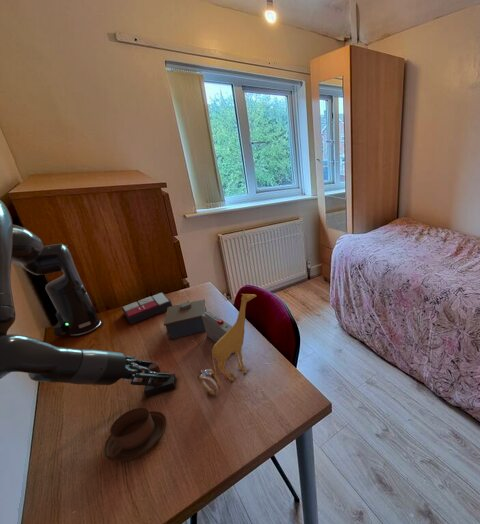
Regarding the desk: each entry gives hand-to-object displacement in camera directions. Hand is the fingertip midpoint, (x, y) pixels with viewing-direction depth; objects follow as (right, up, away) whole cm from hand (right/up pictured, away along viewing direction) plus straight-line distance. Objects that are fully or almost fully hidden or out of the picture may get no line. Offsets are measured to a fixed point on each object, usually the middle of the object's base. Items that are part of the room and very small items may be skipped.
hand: (160, 371), depth 80 cm
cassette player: (+9, +3, +19) cm, 21 cm away
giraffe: (+21, -2, +7) cm, 22 cm away
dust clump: (-9, +14, +27) cm, 32 cm away
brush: (0, -5, +1) cm, 5 cm away
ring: (+15, -6, 0) cm, 16 cm away
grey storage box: (-7, +6, +28) cm, 29 cm away
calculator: (-30, +10, +38) cm, 49 cm away
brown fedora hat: (+3, -11, -12) cm, 17 cm away
